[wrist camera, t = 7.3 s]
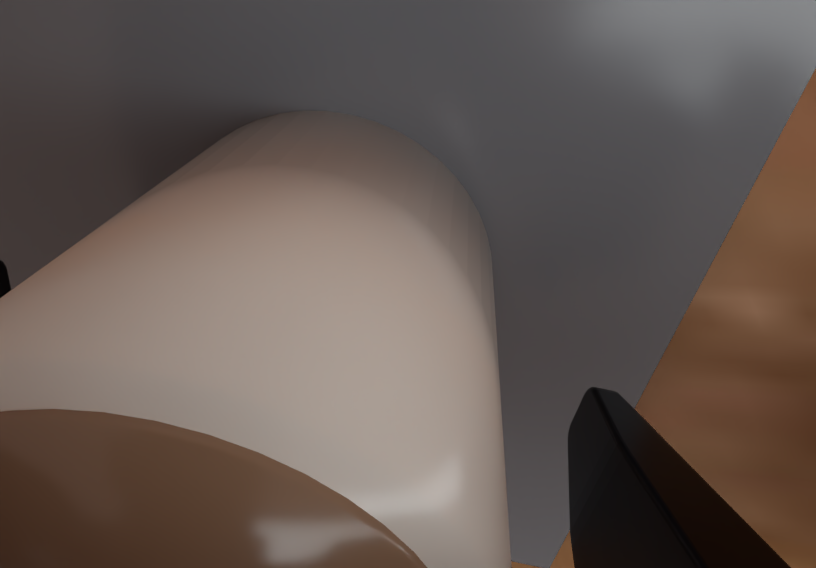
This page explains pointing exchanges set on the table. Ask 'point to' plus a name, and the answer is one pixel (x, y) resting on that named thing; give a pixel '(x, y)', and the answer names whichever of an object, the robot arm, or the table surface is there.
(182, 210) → the espresso cup
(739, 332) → the table surface
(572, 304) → the slate board
